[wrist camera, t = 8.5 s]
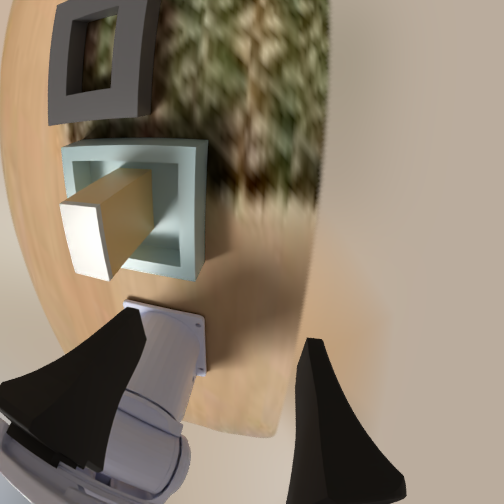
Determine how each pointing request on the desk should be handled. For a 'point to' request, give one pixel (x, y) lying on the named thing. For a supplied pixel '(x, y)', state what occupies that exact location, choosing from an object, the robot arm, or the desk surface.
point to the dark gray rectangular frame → (123, 63)
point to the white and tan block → (108, 221)
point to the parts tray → (154, 195)
